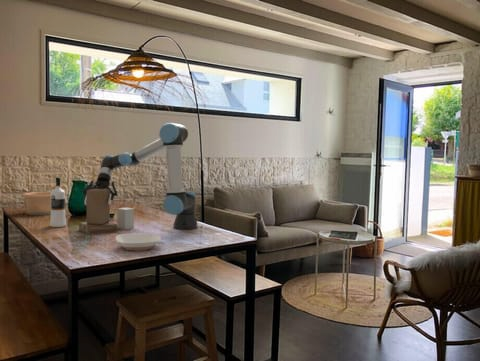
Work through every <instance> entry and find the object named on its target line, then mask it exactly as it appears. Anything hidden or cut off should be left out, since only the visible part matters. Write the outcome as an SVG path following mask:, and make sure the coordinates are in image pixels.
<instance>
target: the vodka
mask: <svg viewBox="0 0 480 361" xmlns="http://www.w3.org/2000/svg"><path fill="white" fill-rule="evenodd" d="M50 192H51V193H50V194H51V214H50V220H49V226H50V227H51V228H63V227H66V226H67V218H66V191H65V190H64V189H63V188H61V177H55V188H54V189H52V190H51V191H50Z"/></svg>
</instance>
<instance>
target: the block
mask: <svg viewBox="0 0 480 361" xmlns="http://www.w3.org/2000/svg"><path fill="white" fill-rule="evenodd" d="M109 197H110V190H109V189H106V188H105V189H90V190H87V205H86V222H87V224H95V225H102V224H105V223H108V222H111V221H110V220H111V219H110V216H111V212H110V210H111V209H110V208H111V205H110V206H109V204H108V201H109Z"/></svg>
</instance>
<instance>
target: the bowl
mask: <svg viewBox="0 0 480 361" xmlns="http://www.w3.org/2000/svg"><path fill="white" fill-rule="evenodd" d="M161 240H162V239H161V236H159V234H156V233H154V232H151V233H150V232H138V233H137V232H135V233H133V232H132V233H121V234H118V235H116V236H115V241H116V242H117V243H118V244H119V245H121V247H123V248H124V249H125V251H128V250H144V251H147V250H146V249H150V250H151V249H153V248H154V247H155V246H156V245H157V244H158V243H159V242H160V241H161Z"/></svg>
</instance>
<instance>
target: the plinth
mask: <svg viewBox="0 0 480 361" xmlns="http://www.w3.org/2000/svg"><path fill="white" fill-rule="evenodd" d="M78 224H79V225H78V226H79V227H78V229H79V231H80V232H84V233H85V234H88V235H90V236H92V235H98V234H99V235H100V234H106V233H109V234H110V233H116V232H118V228H117V223H115V222H112V221H109V222H108V223H105V224H102V225H95V224H87V221H80V222H79V223H78Z"/></svg>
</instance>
